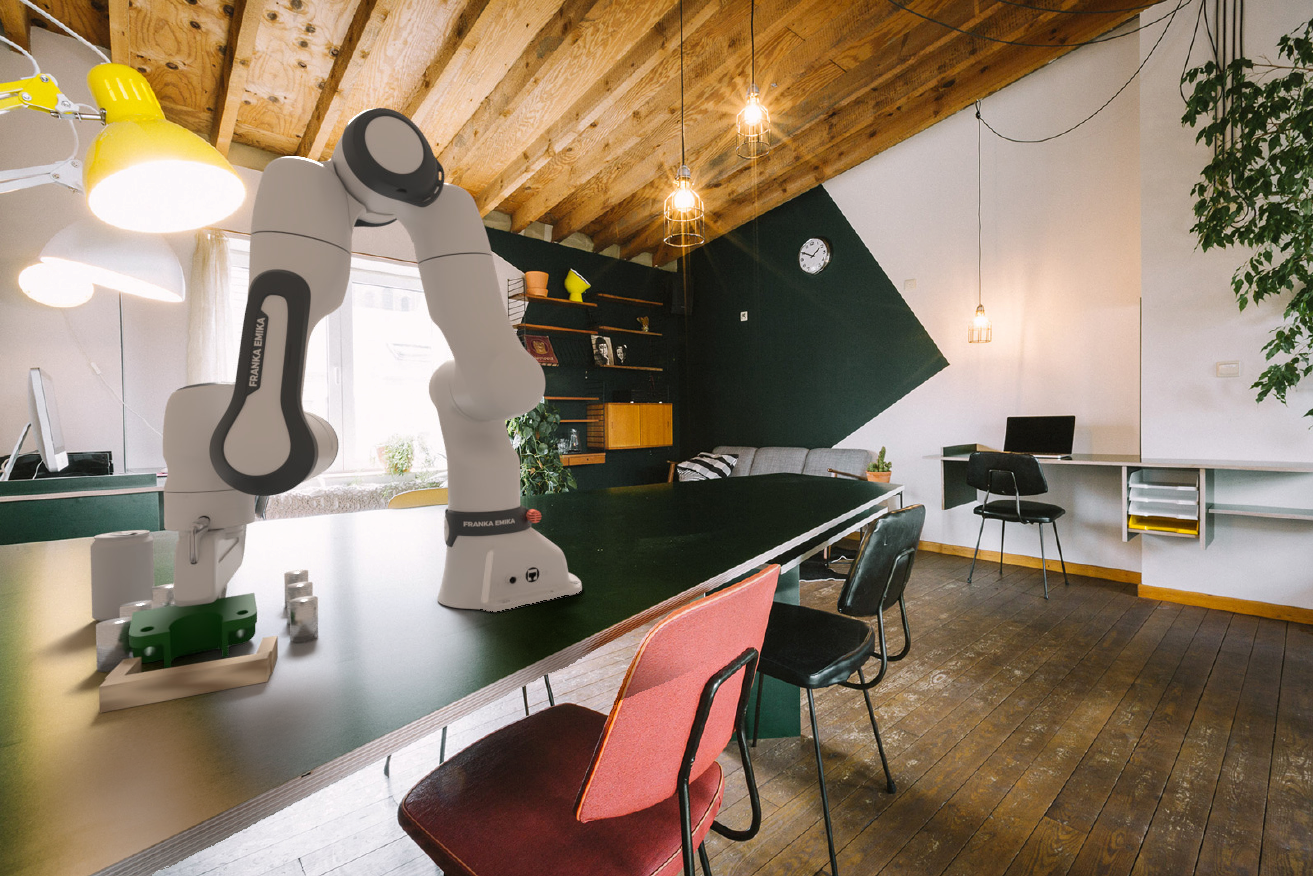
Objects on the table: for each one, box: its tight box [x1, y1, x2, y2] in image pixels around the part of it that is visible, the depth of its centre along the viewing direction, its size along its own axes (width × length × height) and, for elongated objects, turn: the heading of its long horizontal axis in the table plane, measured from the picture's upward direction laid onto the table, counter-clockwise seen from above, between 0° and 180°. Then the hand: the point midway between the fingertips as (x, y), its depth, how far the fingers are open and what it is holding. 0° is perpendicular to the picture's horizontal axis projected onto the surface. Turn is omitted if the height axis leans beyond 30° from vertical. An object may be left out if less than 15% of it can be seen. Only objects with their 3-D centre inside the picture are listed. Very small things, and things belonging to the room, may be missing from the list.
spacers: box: [95, 569, 319, 673], centre depth 72 cm, size 21×19×5 cm
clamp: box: [129, 592, 258, 669], centre depth 64 cm, size 12×6×9 cm, turn 124°
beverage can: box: [90, 529, 155, 623], centre depth 77 cm, size 6×6×12 cm
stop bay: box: [98, 635, 279, 714], centre depth 58 cm, size 13×7×2 cm, turn 119°
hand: (213, 620), depth 69 cm, fingers closed
